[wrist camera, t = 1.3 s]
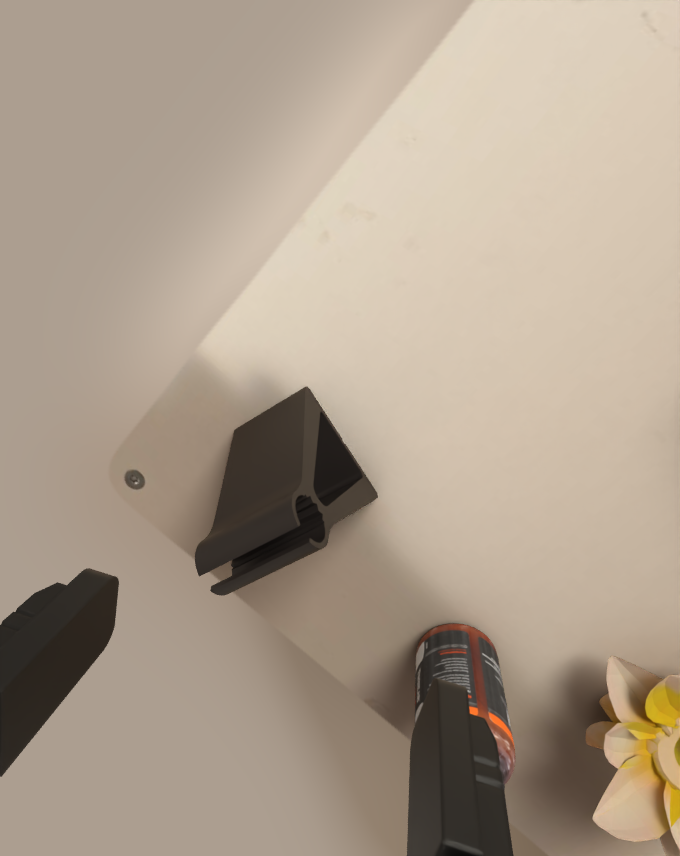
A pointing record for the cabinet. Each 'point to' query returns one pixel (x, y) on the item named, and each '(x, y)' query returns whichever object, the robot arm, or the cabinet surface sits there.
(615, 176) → the cabinet surface
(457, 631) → the supplement bottle
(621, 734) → the decorative flower
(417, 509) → the cabinet surface
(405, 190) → the cabinet surface
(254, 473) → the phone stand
